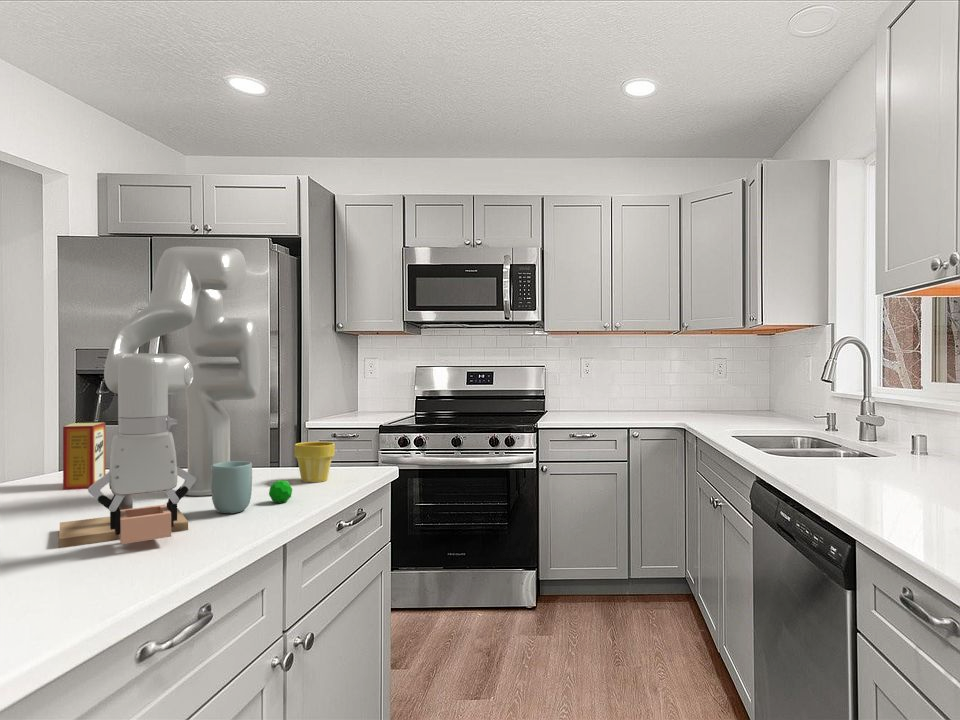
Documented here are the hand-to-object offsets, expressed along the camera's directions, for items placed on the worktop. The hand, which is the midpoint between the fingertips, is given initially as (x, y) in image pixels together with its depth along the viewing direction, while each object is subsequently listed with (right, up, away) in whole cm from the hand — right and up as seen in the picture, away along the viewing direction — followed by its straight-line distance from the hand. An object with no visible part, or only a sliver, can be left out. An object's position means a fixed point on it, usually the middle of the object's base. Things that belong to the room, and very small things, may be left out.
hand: (144, 528), depth 107 cm
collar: (0, -1, 0) cm, 1 cm away
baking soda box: (-43, -3, +52) cm, 68 cm away
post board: (-9, -3, +9) cm, 13 cm away
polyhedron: (+13, -3, +32) cm, 35 cm away
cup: (+6, -3, +24) cm, 25 cm away
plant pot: (+14, -3, +58) cm, 60 cm away
